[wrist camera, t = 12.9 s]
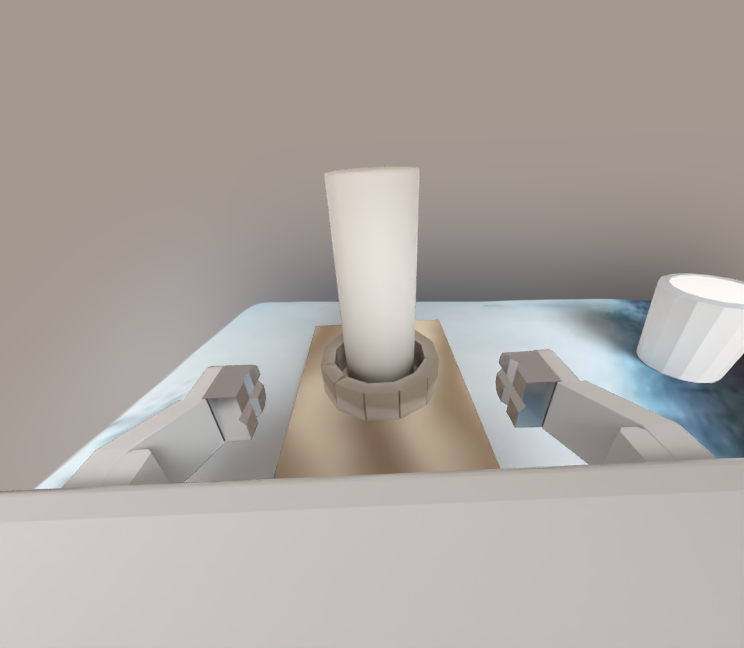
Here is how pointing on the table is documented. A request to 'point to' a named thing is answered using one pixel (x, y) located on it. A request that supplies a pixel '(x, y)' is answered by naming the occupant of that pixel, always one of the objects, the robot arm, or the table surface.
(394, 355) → the paper roll
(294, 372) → the table surface
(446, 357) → the roll holder
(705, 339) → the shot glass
